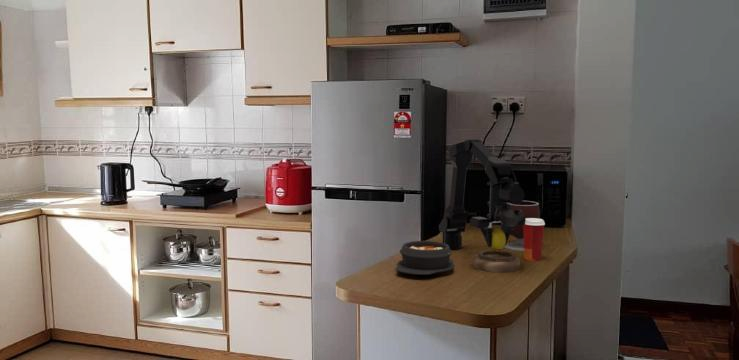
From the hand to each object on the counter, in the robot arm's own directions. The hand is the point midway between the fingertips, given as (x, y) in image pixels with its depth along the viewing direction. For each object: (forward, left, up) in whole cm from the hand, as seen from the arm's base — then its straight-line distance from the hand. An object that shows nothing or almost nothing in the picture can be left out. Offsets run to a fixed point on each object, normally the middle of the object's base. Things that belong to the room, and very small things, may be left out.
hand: (497, 246), depth 211 cm
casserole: (-15, -20, -7) cm, 26 cm away
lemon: (0, 0, -2) cm, 2 cm away
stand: (0, 0, -7) cm, 7 cm away
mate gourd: (-9, +32, -7) cm, 34 cm away
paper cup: (+4, +18, -7) cm, 20 cm away
